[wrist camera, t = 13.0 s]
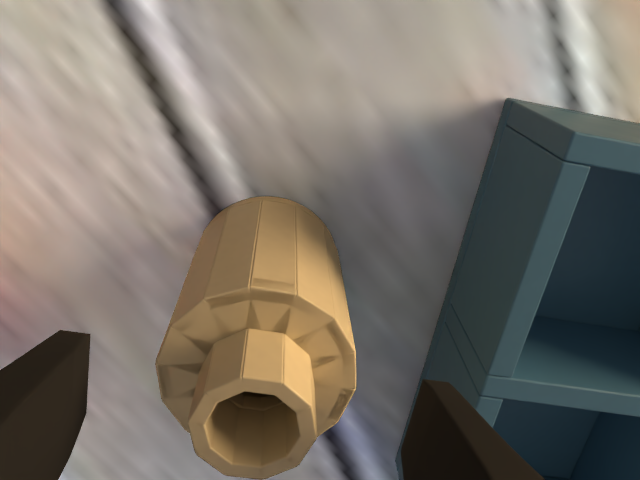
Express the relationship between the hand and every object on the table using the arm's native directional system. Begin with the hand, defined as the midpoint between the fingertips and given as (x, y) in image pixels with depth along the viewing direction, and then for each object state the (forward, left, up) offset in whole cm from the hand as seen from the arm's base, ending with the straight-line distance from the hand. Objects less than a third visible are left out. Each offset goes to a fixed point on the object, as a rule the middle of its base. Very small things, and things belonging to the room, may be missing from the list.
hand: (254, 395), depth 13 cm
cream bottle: (0, 0, -7) cm, 7 cm away
